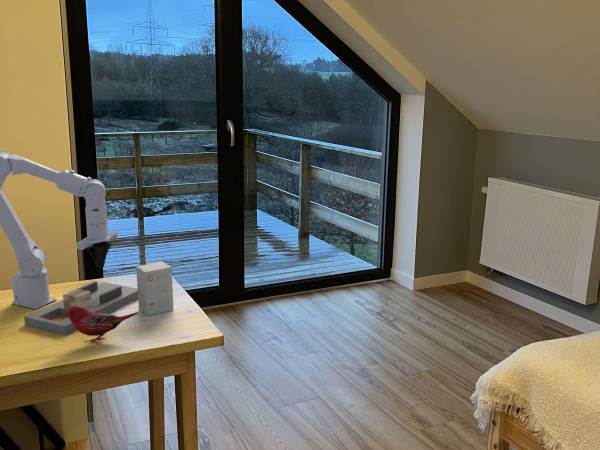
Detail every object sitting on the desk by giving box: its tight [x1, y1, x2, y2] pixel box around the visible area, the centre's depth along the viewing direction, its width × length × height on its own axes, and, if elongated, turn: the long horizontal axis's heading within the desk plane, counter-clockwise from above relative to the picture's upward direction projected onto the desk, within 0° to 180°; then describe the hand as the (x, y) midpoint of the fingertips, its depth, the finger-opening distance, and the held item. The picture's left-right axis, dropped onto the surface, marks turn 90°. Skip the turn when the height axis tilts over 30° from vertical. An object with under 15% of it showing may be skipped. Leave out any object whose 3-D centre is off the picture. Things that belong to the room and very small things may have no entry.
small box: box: [135, 261, 174, 317], centre depth 165 cm, size 8×6×13 cm
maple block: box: [62, 288, 91, 309], centre depth 161 cm, size 5×5×4 cm
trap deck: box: [23, 280, 138, 336], centre depth 164 cm, size 14×30×5 cm, turn 156°
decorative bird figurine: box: [64, 306, 140, 343], centre depth 145 cm, size 3×18×10 cm, turn 114°
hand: (99, 267), depth 173 cm, fingers closed
